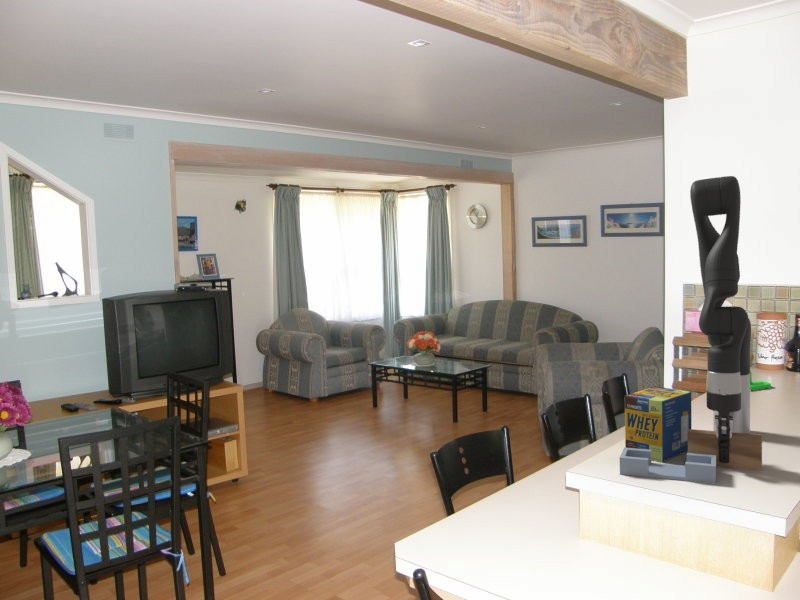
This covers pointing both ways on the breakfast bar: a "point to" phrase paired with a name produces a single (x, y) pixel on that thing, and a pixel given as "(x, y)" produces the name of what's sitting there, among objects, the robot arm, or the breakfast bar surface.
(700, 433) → the slat
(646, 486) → the breakfast bar surface
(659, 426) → the protein box
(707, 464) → the grey slotted holder
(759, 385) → the mechanical part
